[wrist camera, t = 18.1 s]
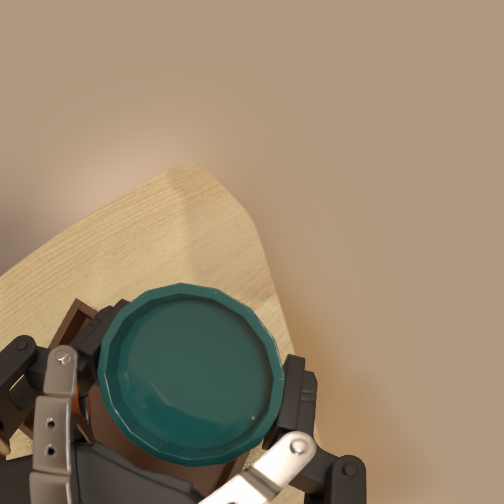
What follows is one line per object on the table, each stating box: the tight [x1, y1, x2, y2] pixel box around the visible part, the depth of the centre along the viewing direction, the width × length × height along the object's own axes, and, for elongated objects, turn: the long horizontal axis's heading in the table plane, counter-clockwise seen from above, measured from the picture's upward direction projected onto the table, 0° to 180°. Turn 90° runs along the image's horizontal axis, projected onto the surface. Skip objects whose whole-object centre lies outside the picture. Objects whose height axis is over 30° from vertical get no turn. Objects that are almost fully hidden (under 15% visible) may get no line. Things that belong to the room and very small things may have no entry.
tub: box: [97, 283, 285, 468], centre depth 13 cm, size 7×7×8 cm
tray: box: [19, 298, 250, 497], centre depth 20 cm, size 20×15×3 cm
